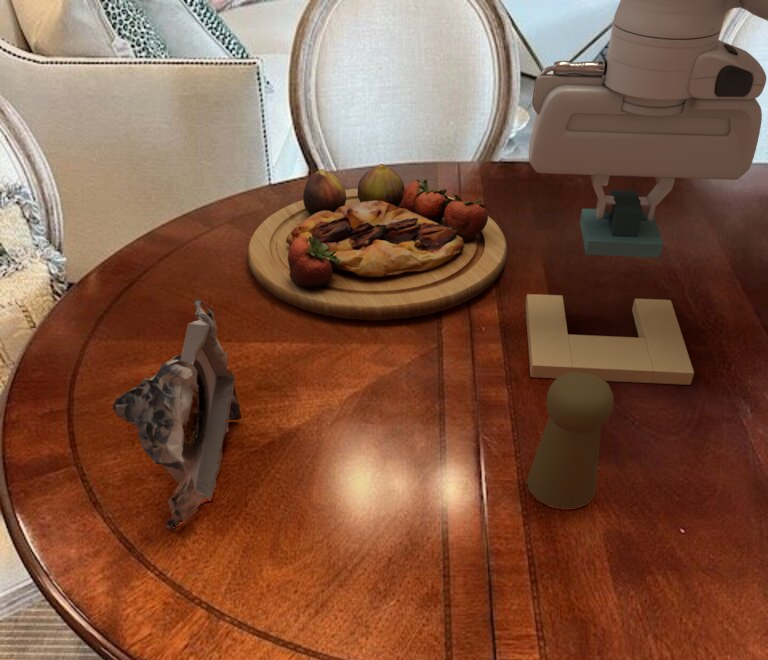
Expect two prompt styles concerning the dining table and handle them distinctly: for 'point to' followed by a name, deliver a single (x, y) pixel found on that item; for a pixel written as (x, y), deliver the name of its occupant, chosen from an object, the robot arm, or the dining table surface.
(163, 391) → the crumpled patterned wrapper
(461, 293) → the wooden plate
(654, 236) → the teal pad
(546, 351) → the base pad
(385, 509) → the dining table surface
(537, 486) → the olive game pawn
